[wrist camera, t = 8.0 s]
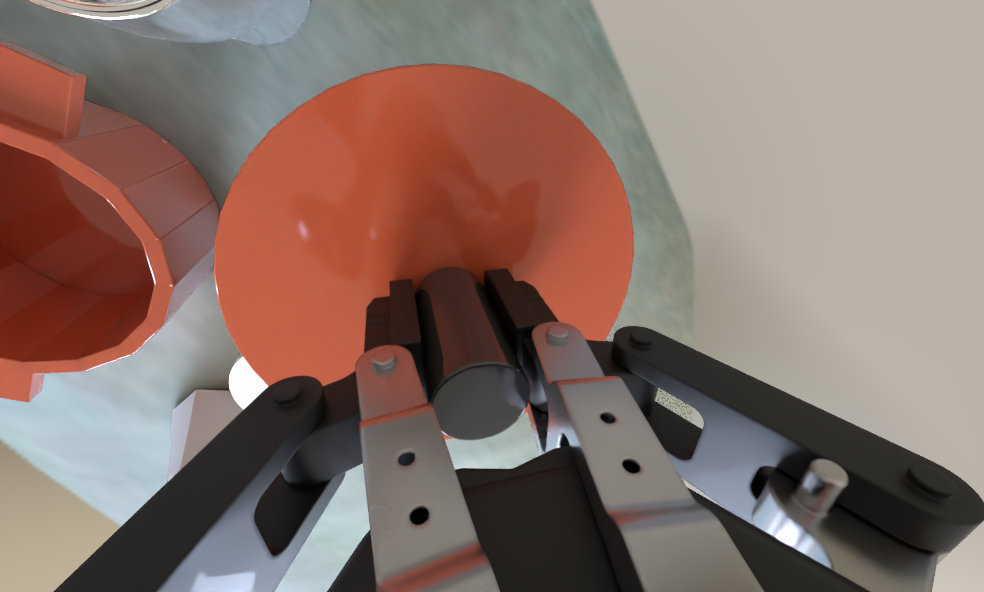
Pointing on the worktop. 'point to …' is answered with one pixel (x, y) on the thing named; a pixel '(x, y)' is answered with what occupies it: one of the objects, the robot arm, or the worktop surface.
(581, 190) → the lid
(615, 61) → the worktop surface
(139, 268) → the pot
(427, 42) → the worktop surface
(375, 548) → the robot arm
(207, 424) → the flask
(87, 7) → the silver metal cup
